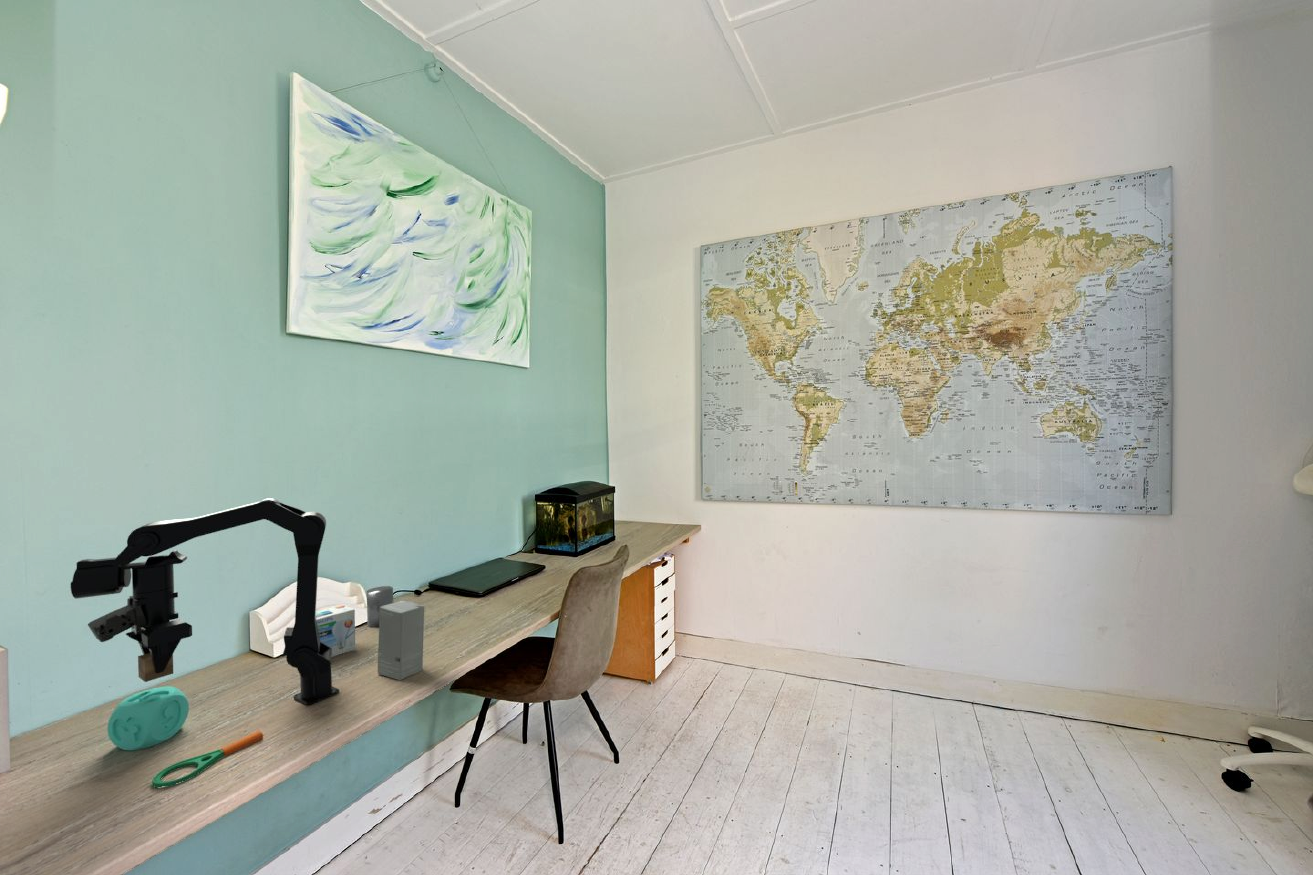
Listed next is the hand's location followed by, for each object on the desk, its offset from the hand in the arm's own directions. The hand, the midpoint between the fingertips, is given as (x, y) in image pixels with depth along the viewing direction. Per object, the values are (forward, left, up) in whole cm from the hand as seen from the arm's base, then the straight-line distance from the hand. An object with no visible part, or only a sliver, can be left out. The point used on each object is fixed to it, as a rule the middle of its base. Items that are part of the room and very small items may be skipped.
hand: (156, 669), depth 100 cm
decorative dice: (-1, +1, -13) cm, 13 cm away
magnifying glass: (-20, -2, -13) cm, 24 cm away
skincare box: (-18, -39, -13) cm, 44 cm away
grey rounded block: (+18, -55, -12) cm, 59 cm away
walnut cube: (0, 0, -1) cm, 1 cm away
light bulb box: (+9, -36, -13) cm, 39 cm away
